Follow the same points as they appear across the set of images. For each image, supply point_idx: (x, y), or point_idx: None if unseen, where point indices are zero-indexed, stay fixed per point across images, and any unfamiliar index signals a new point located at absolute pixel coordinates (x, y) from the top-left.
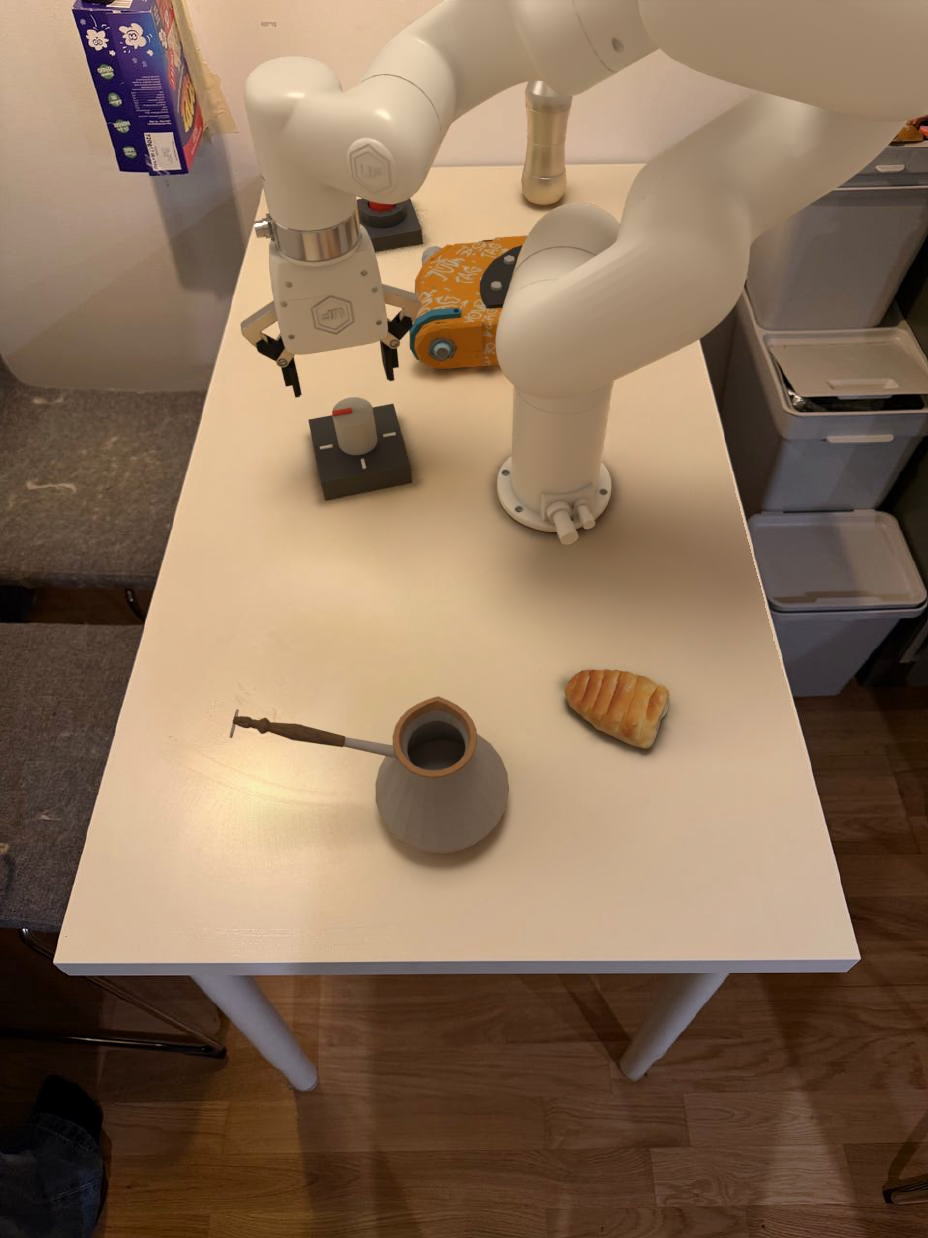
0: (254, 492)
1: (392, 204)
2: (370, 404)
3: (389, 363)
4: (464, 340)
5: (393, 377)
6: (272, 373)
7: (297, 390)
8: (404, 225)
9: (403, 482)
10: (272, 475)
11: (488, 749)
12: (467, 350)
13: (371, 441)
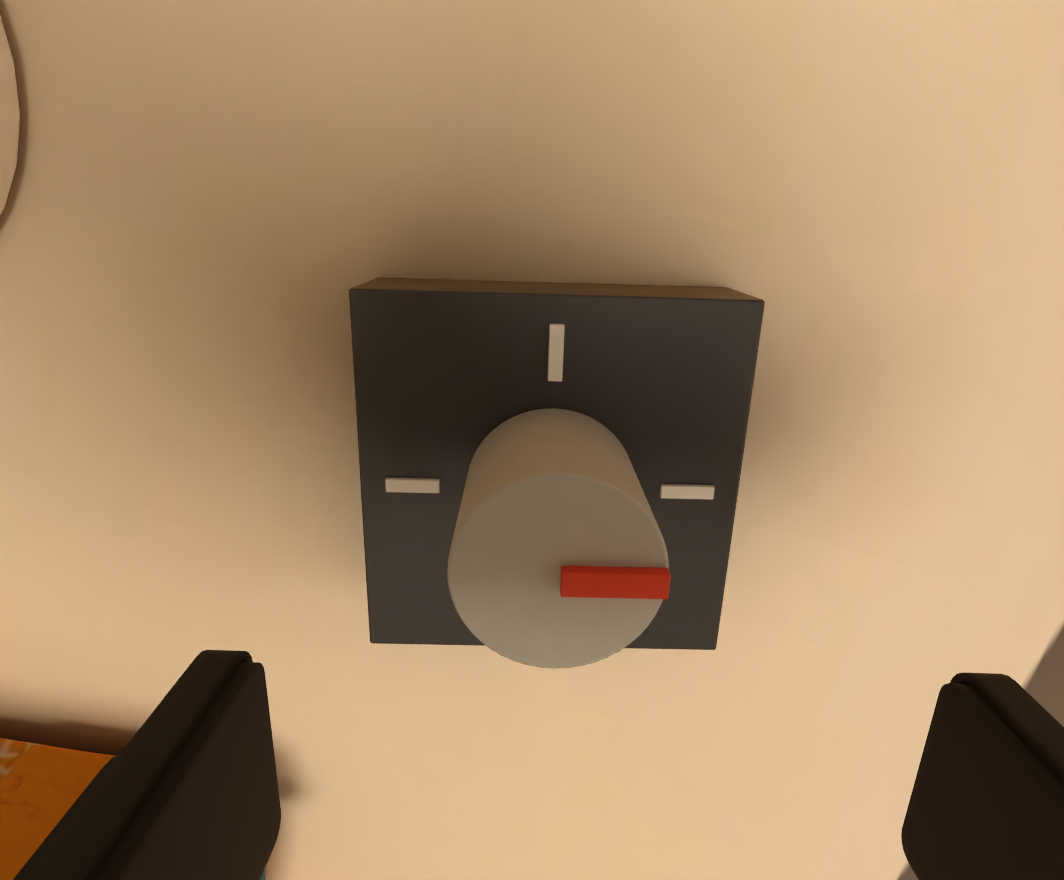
0: (963, 406)
1: None
2: (453, 596)
3: (121, 794)
4: (9, 860)
5: (193, 667)
6: (742, 872)
7: (1022, 718)
8: None
9: (409, 279)
10: (876, 467)
11: None
12: (34, 813)
13: (496, 441)
